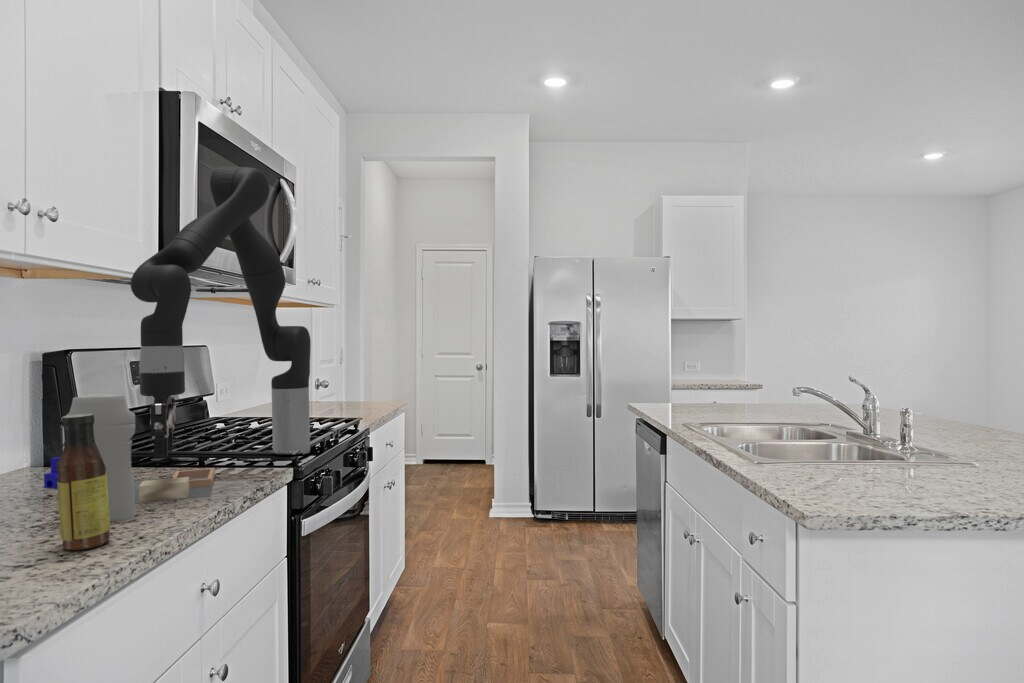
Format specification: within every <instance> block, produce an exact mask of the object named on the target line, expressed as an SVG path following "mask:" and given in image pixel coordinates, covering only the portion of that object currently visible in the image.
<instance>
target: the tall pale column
mask: <svg viewBox="0 0 1024 683" xmlns="http://www.w3.org/2000/svg"><path fill="white" fill-rule="evenodd" d="M126 400H127V398H126V396H125V395H116V394H109V393H103V392H102V393H99V392H98V393H93V394H87V395H83V396H75V397H72V402H71V406H70V410H69V413H67V414H66V415H65V416H68V415H75V414H93V415H94V420H95V422H94V424H93V427H94V438H95V443H96V445H97V447H98V450H99V452H100V455H101V457H102V460H103V462H104V464H105V466H106V472H107V486H108V500H109V514H110V523H111V522H117V521H125V520H130V519H131V520H132V519H135V518H136V511H135V510H136V508H135V505H136V504H135V495H134V481H135V478H134V476H133V473H132V470H131V468H132V467H133V466H132V451H131V450H132V445H131V444H133V440H132V437H133V436H134V435H135V433H136V414H135V413H134V412H133V411H131V410H130V409H129V406H128V403H127V401H126Z"/></svg>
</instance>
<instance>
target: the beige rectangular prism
mask: <svg viewBox="0 0 1024 683" xmlns="http://www.w3.org/2000/svg"><path fill="white" fill-rule="evenodd" d="M170 478H171V479H167V478H160V480H156V479H148V480H149V481H145V480H141V481H142V483H141V484H140V485H139V502H148V501H158V500H168V499H178V498H187V497H188V495H189V492H190V489H189V477H182V478H172V477H170Z"/></svg>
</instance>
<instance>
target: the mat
mask: <svg viewBox="0 0 1024 683" xmlns="http://www.w3.org/2000/svg"><path fill="white" fill-rule="evenodd" d="M171 478H172V477H167V478H166V479H171ZM206 478H208V476H202V477H191V478H189V480H195V479H206ZM160 479H161V478H160ZM160 479H159V478H158V479H155V480H160ZM215 479H216V473H215V476H214V479H213V483H212V486H208V487H197V488H189V489H190V492H189V495H188V497H187V498H178V499H168V500H158V501H148V502H139V485H140V484H141V483H142V481H143V480H134V495H135V505H139V504H141V505H142V504H148V503H158V502H168V501H169V502H170V501H176V500H177V501H178V500H188V499H189V500H190V499H196V498H198V499H199V498H207V497H211V495H212V492H213V488H214V483H215ZM149 480H150V479H147V480H144V481H149Z"/></svg>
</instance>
